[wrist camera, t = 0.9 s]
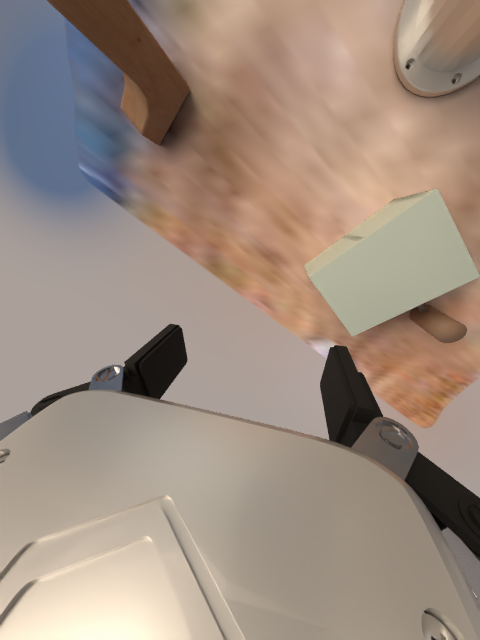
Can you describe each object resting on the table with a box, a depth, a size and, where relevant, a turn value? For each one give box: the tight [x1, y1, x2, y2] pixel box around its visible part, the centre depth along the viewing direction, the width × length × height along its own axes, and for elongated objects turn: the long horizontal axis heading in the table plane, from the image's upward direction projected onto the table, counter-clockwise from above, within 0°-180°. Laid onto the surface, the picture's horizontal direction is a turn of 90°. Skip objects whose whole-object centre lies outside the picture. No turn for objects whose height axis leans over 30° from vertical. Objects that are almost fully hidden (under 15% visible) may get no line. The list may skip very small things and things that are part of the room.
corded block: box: [410, 304, 467, 343], centre depth 29 cm, size 5×17×7 cm, turn 41°
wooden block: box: [47, 0, 190, 145], centre depth 21 cm, size 9×4×18 cm, turn 131°
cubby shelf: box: [304, 188, 480, 337], centre depth 28 cm, size 15×12×10 cm
